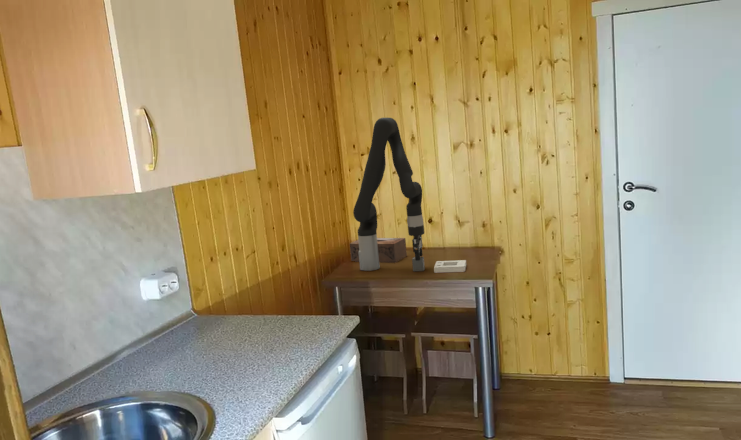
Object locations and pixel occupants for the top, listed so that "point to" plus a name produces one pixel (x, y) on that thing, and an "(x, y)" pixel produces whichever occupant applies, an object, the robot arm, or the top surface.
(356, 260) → the tissue box cover
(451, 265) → the outlet plate
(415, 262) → the block
